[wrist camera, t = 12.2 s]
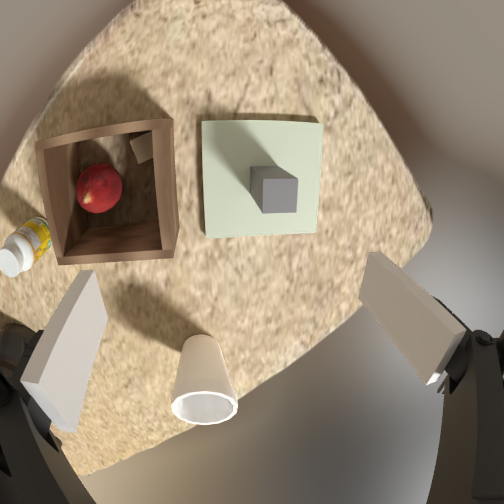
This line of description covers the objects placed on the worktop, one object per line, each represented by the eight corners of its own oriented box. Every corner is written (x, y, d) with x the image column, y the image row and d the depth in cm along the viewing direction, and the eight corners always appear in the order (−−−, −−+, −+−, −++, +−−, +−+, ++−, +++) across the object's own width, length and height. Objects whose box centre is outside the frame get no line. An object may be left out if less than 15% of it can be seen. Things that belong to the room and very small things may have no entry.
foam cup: (169, 359, 47) (166, 419, 35) (179, 322, 43) (176, 386, 32) (220, 368, 49) (227, 426, 38) (235, 333, 46) (247, 395, 34)
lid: (205, 234, 38) (207, 268, 30) (201, 121, 31) (200, 120, 23) (311, 228, 40) (339, 259, 32) (318, 123, 34) (353, 126, 25)
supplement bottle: (42, 209, 32) (7, 235, 23) (60, 240, 34) (29, 273, 26) (22, 225, 32) (-12, 253, 23) (38, 254, 34) (9, 287, 26)
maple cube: (143, 160, 32) (138, 164, 29) (135, 139, 31) (129, 141, 28) (165, 151, 32) (162, 153, 29) (157, 129, 31) (152, 130, 28)
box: (84, 234, 34) (58, 265, 26) (70, 135, 28) (35, 142, 20) (179, 226, 36) (173, 258, 28) (173, 119, 30) (162, 118, 22)
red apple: (85, 164, 30) (57, 177, 23) (125, 155, 31) (104, 164, 24) (94, 206, 33) (70, 228, 26) (132, 198, 34) (115, 219, 27)
